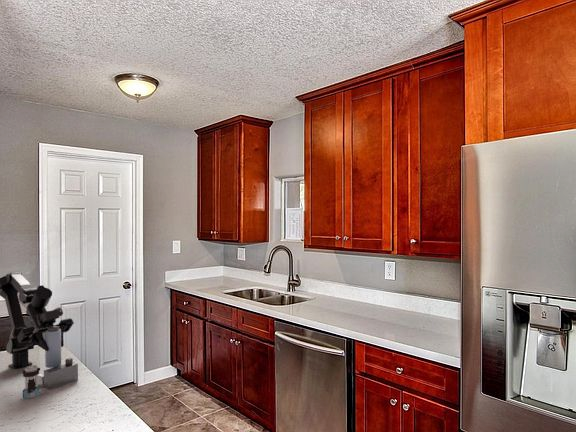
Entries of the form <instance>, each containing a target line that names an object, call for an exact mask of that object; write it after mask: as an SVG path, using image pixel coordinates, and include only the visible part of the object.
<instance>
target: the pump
mask: <svg viewBox="0 0 576 432" xmlns="http://www.w3.org/2000/svg"><path fill="white" fill-rule="evenodd" d="M44 340H45V342H46V344H47V346H48V348H49V350H48V351H46V350H44V351H45V354H44V358H45V363H44V364H45V368H47V369H50V368H54V367H57V366H60V365H62V347H61V329H59V326H52V327H48V330H47V331H45V333H44Z"/></svg>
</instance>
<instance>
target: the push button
mask: <svg viewBox="0 0 576 432" xmlns="http://www.w3.org/2000/svg"><path fill="white" fill-rule="evenodd" d="M40 371H41V367H38V365H36V364H35V365H33V364H32V365H28V366H25V368H24V369H23V370H22V371H21V373H22V377H23V378H24V379H25V380H24V381H25V382H24V388H23V389H22V398H23V399H24V400H26V399H31V398H35V397H39V396H40V395H41V394H42V393H45V390H46V388H45V387H44V388H40V386H39V385H37V375H38V374H40Z"/></svg>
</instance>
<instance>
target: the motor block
mask: <svg viewBox="0 0 576 432" xmlns="http://www.w3.org/2000/svg"><path fill="white" fill-rule="evenodd" d="M73 360H74V359H73V358H71V357H69V358H68V357H67V358H66V359H65V361H64V364H61V365H60V366H57V367H53V368H47V369H44V370H43V374H41V373H39V374H38V375H37V385H38V387H42V388H43V387H44V388H45V389H48V390H53V389H55V388H58V387H61V386H64V385H67V384H71V383H73V382H75V381H78V380H79V365H78V363H76V362H73Z"/></svg>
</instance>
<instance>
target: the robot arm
mask: <svg viewBox="0 0 576 432" xmlns="http://www.w3.org/2000/svg"><path fill="white" fill-rule="evenodd" d="M52 296H53V291H52V290H51V289H49V287H45V285H44V284H42V285H34V284H31V283H30V282H29V281H28V280H27V279H26V278H25V276H23V273H22V272H20V271H15V272H9V273H7V274H6V275H4V276H1V277H0V297H1V298H3V299H4V301H5V305H6V310H7V313H8V319H9V322H10V326H11V333H10V335H9V338H8V339H9V340H8V342H7V344H6V353H8V354H10V355H11V357H12V358H11V361H12V363H10V364H8V367H9V368H12V369H14V370H15V369H20V368H23V367H28V366H32V365H33V362H31V361H29V351H30V350H34V348H35V345H36V346H38V347H39V348H41V349H42V350H44V351H45V350H46V351H48V350H49V348H48V346H47V344H46V342H45V337H44V335H43V334H45V331H47V330H48V327H52V326H59V329H61V348H63V347H64V346H65V345H64V344H65V343H64V333H67V332H69V331H70V330H71V328H72V327H73V325H74V324H75V323H74V321H73V318H70V317H68V318H65V319H64V318H63V319H61V320H60V321H59V323H57V324H56V322H57V319H59V318H60V317H62V316H64V315H63V314H64V311H63V309H62V308H61V306H60V307H56V308H54V309H53V310H47V308H46V307H47V306H48V304H49V302H50V299H51V298H52ZM20 302H21V303H20ZM21 304H23V305H26V304H27V307H26V311H25V313H26V314H28V315H29V317H30V319H31V323H30V324H31V326H28V325H26V324H25V323H26V322H25V318H24V316H23V315H24V314H23V311H22V307H21ZM33 325H34V326H33Z"/></svg>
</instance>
